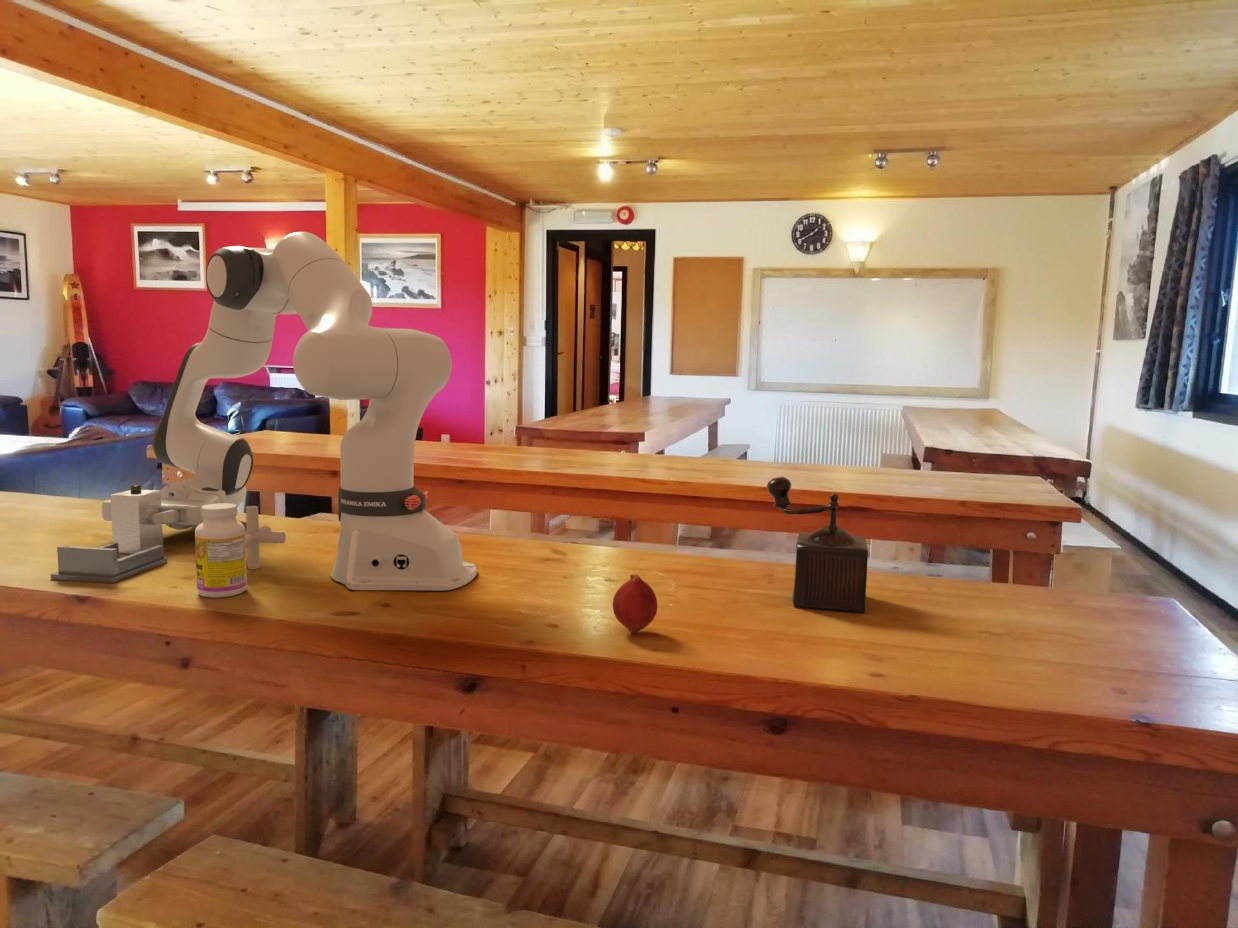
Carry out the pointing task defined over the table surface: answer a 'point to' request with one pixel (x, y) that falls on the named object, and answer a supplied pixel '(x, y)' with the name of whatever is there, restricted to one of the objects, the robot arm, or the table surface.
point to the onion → (635, 604)
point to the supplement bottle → (220, 552)
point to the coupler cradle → (104, 563)
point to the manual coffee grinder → (825, 560)
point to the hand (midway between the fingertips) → (133, 519)
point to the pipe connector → (258, 536)
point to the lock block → (135, 519)
